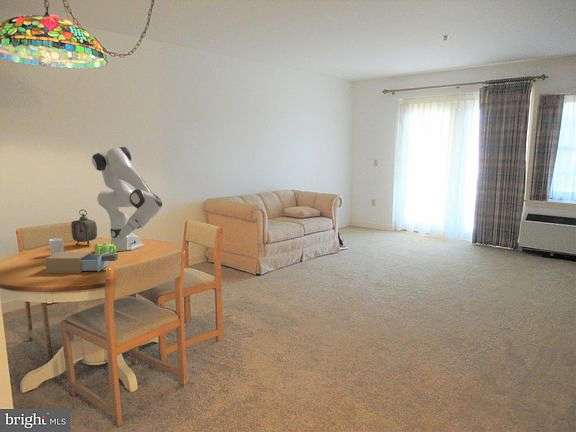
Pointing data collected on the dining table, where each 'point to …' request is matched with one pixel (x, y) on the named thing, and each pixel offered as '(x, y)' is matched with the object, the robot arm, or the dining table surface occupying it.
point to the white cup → (56, 245)
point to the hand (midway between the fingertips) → (121, 237)
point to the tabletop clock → (84, 229)
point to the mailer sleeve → (65, 262)
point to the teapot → (105, 248)
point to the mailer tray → (97, 261)
